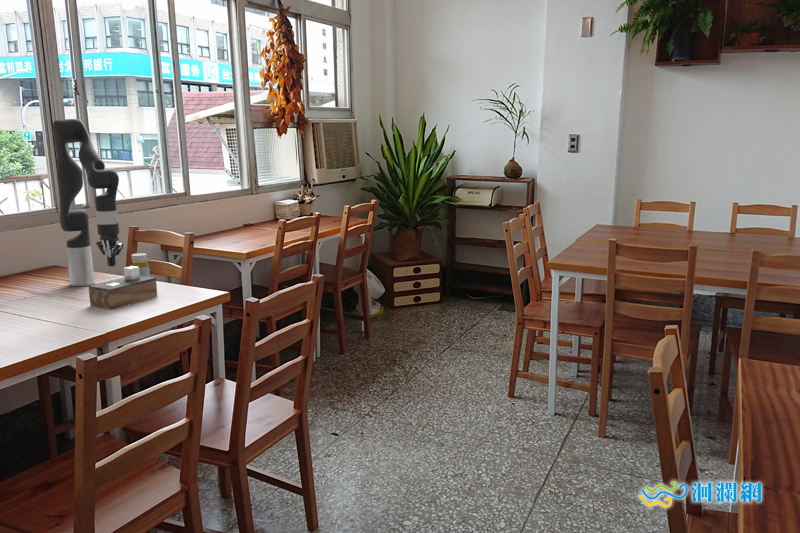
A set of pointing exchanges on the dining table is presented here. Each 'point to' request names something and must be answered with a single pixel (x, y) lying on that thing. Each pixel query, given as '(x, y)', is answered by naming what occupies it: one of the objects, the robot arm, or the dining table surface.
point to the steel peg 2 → (131, 273)
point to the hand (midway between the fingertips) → (111, 266)
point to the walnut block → (122, 292)
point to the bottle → (141, 263)
